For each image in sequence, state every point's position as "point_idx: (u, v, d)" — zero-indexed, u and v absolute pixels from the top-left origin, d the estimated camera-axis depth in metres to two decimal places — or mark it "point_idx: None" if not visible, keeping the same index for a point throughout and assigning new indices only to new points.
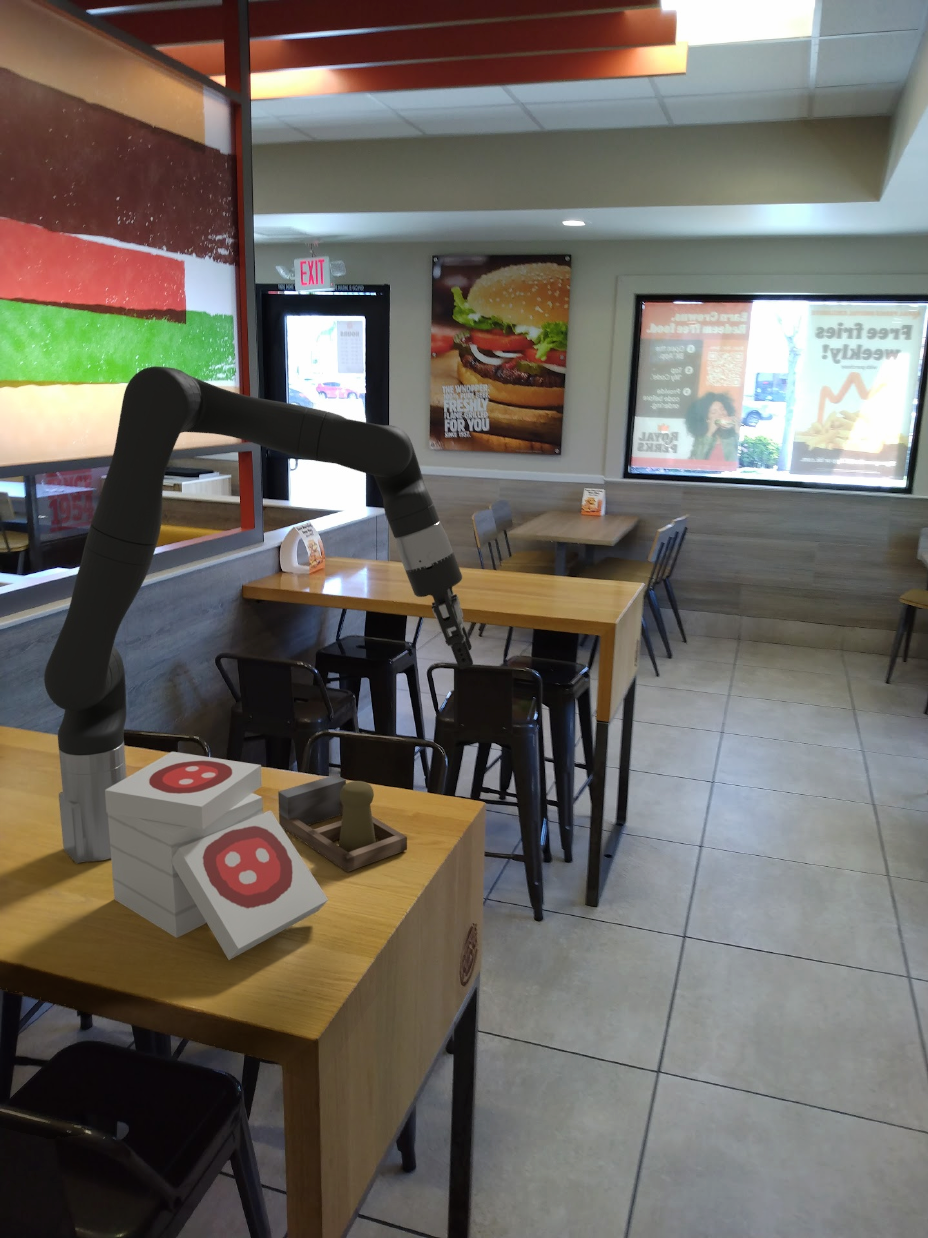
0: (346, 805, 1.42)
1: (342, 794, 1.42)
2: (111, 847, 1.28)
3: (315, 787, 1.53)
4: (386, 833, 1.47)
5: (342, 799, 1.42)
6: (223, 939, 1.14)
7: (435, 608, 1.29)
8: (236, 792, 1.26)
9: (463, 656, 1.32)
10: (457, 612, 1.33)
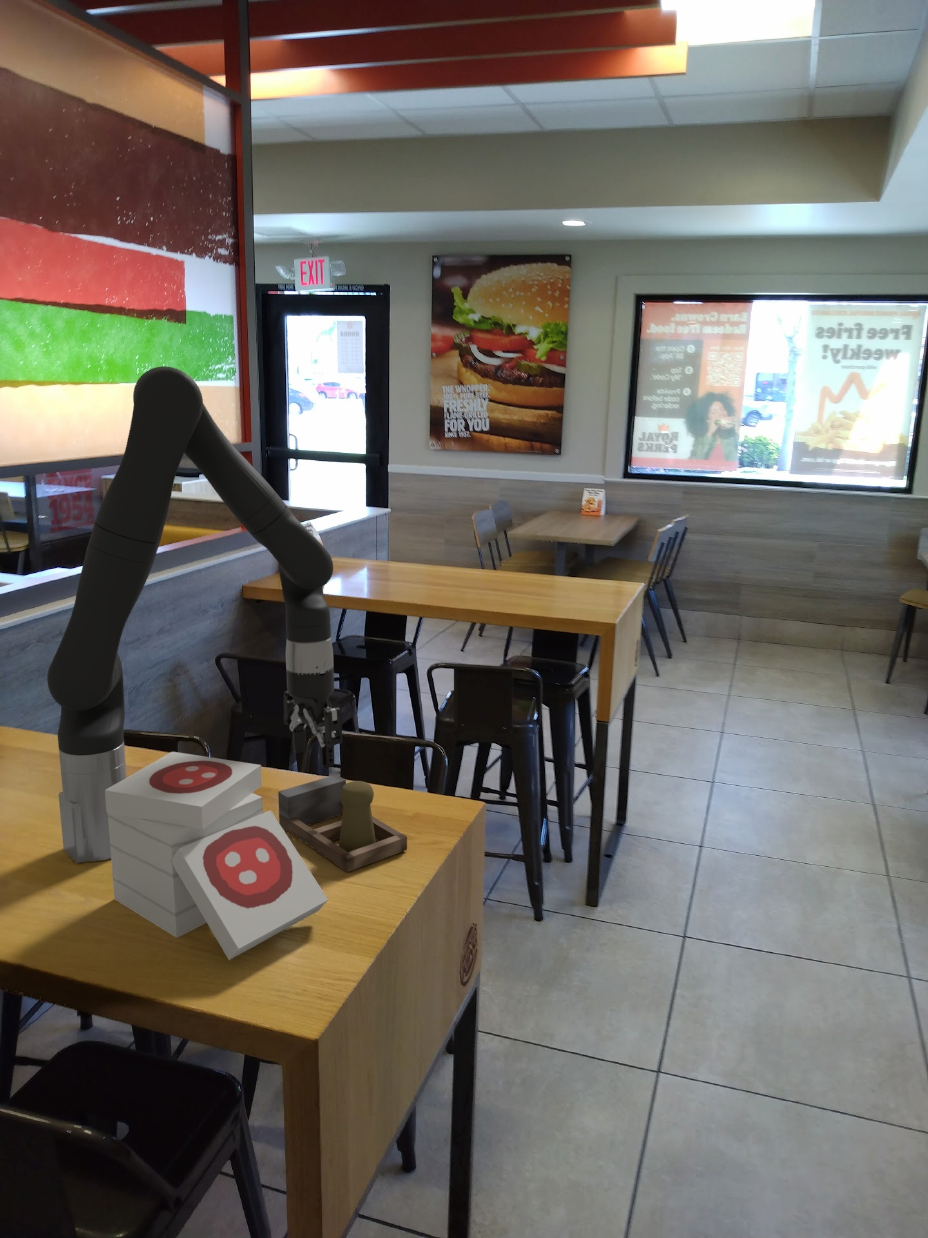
0: (346, 805, 1.42)
1: (342, 794, 1.42)
2: (111, 847, 1.28)
3: (315, 787, 1.53)
4: (386, 833, 1.47)
5: (342, 799, 1.42)
6: (223, 939, 1.14)
7: (328, 712, 1.44)
8: (236, 792, 1.26)
9: (331, 757, 1.48)
10: None
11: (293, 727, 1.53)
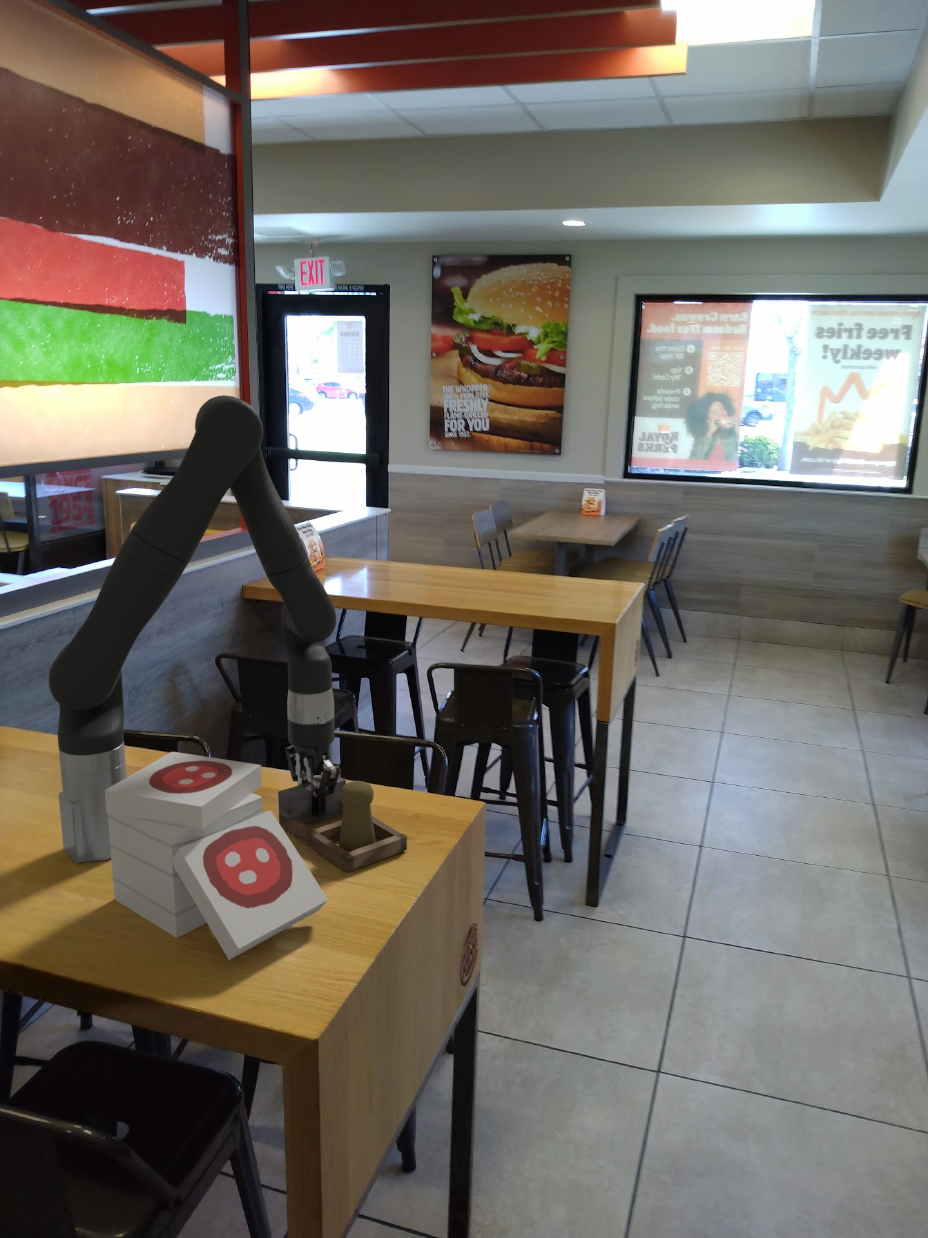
0: (346, 805, 1.42)
1: (342, 794, 1.42)
2: (111, 847, 1.28)
3: None
4: (385, 833, 1.47)
5: (342, 799, 1.42)
6: (223, 939, 1.14)
7: (328, 772, 1.47)
8: (236, 792, 1.26)
9: (323, 807, 1.52)
10: None
11: None
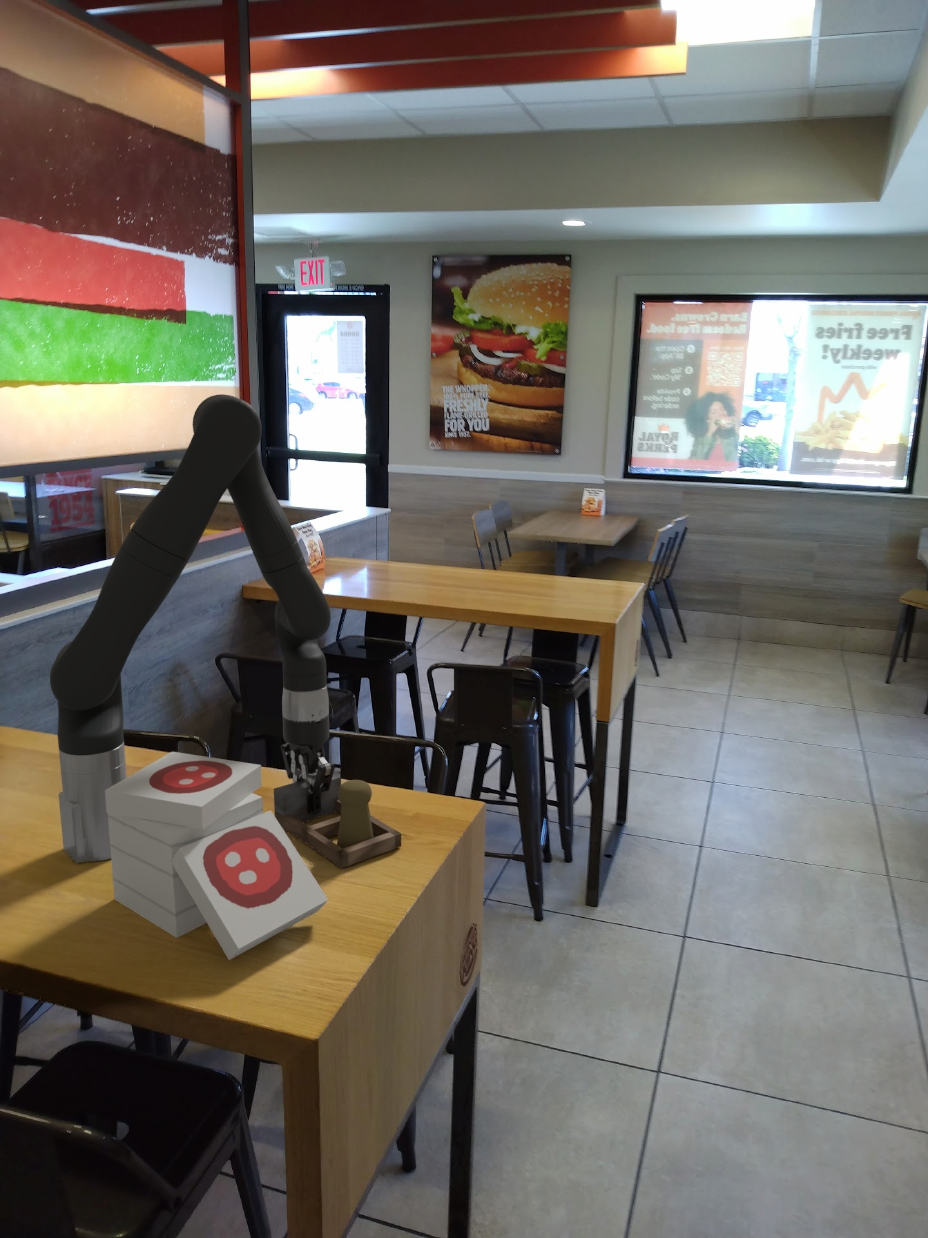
0: (344, 804, 1.42)
1: (340, 793, 1.42)
2: (111, 847, 1.28)
3: None
4: (380, 830, 1.48)
5: (340, 798, 1.42)
6: (223, 939, 1.14)
7: (323, 769, 1.48)
8: (236, 792, 1.26)
9: (318, 804, 1.53)
10: None
11: None
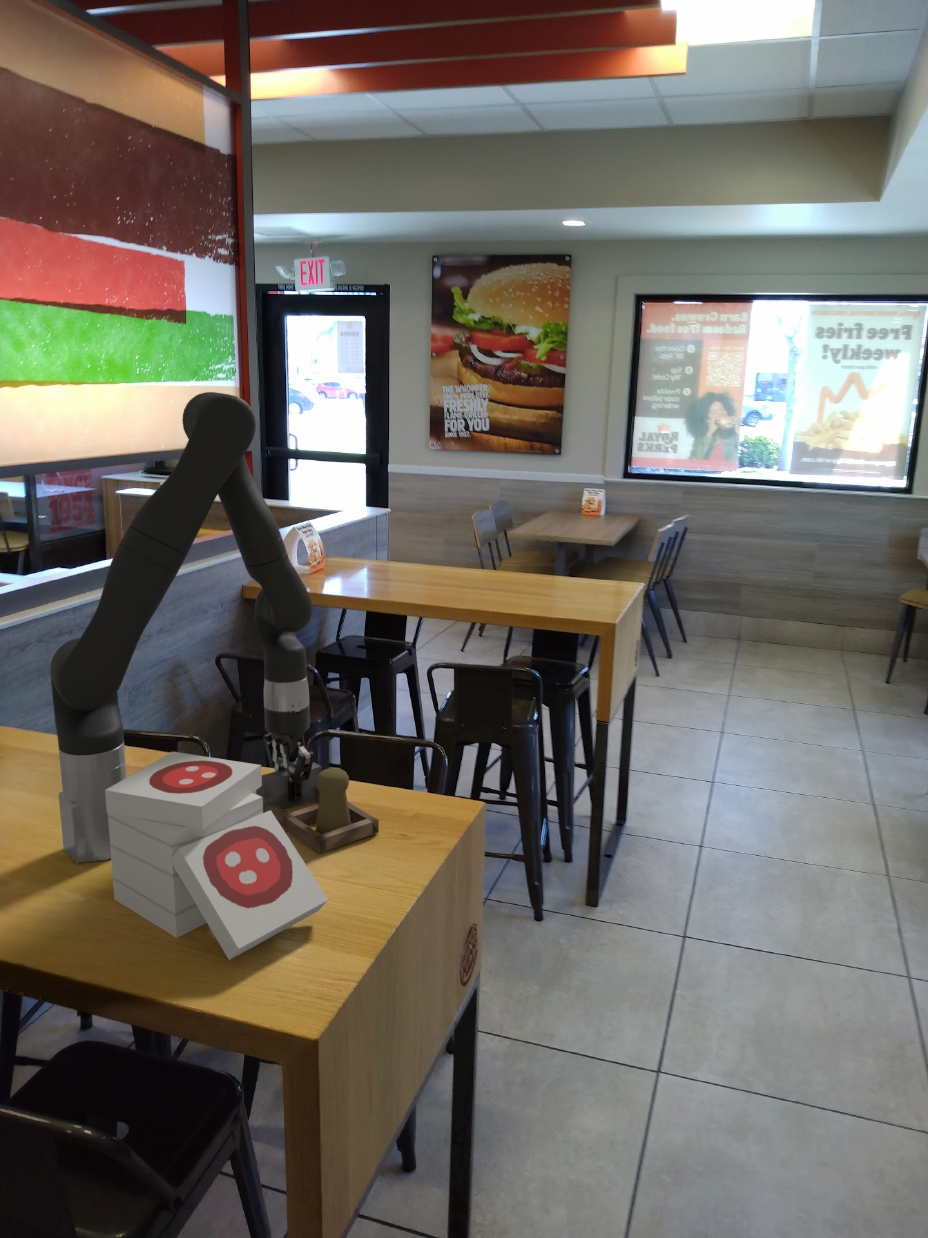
0: (322, 791, 1.46)
1: (318, 781, 1.46)
2: (111, 847, 1.28)
3: None
4: (358, 816, 1.52)
5: (318, 785, 1.46)
6: (223, 939, 1.14)
7: (302, 758, 1.52)
8: (236, 792, 1.26)
9: (298, 792, 1.58)
10: None
11: None
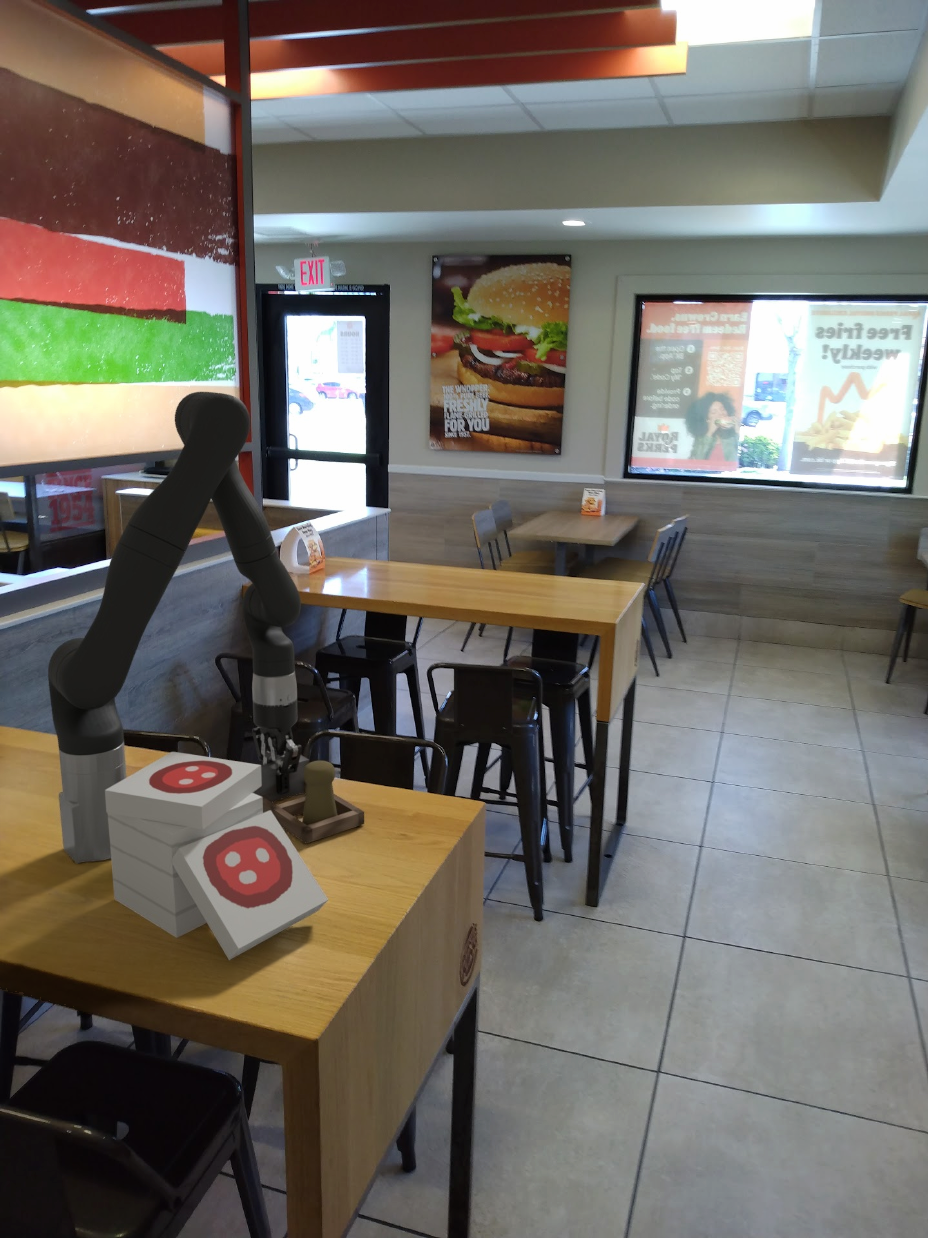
0: (309, 783, 1.49)
1: (305, 773, 1.49)
2: (111, 847, 1.28)
3: None
4: (344, 808, 1.55)
5: (305, 777, 1.49)
6: (223, 939, 1.14)
7: (290, 751, 1.55)
8: (236, 792, 1.26)
9: (286, 784, 1.61)
10: None
11: None
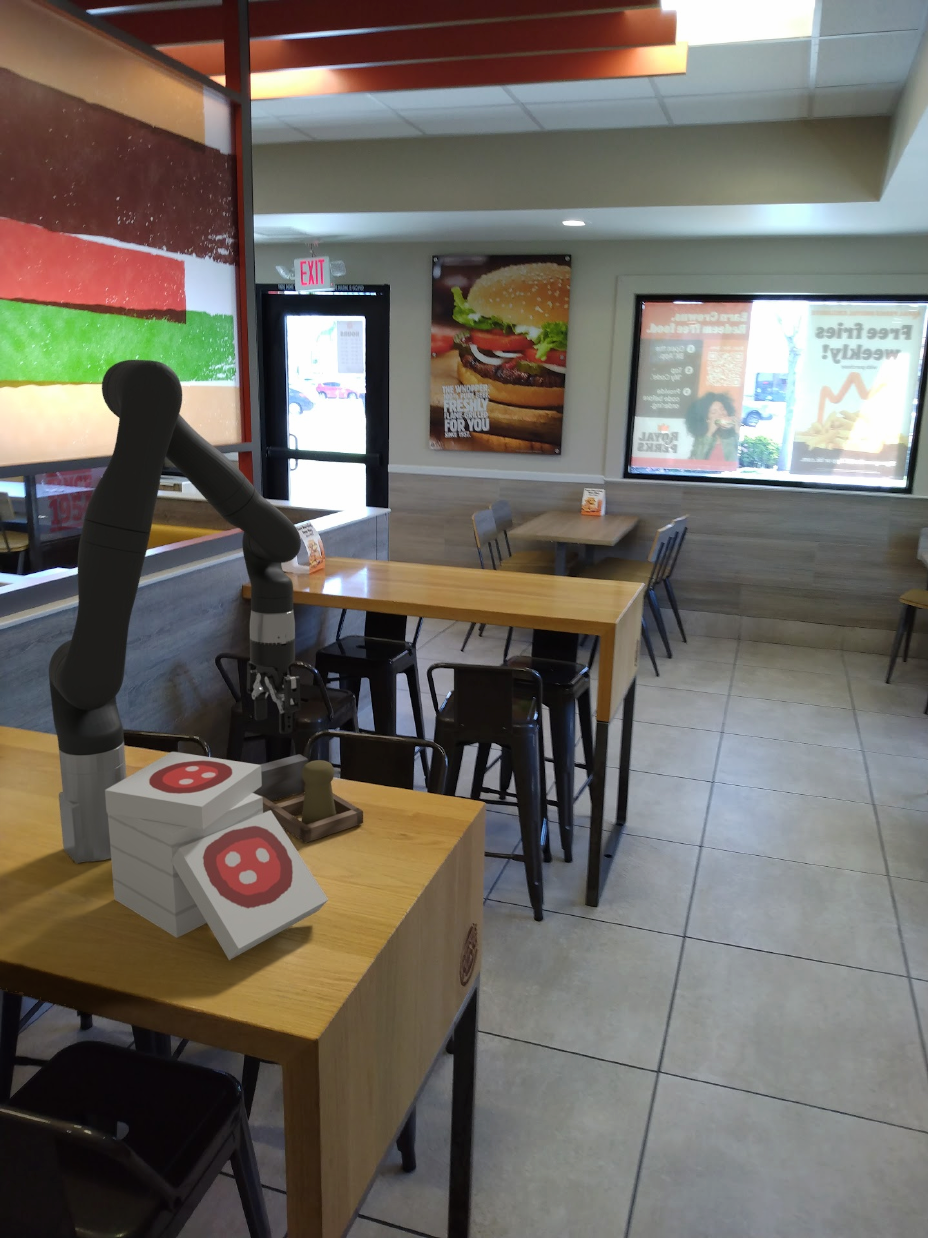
0: (308, 783, 1.49)
1: (304, 772, 1.50)
2: (111, 847, 1.28)
3: (278, 765, 1.62)
4: (343, 807, 1.55)
5: (304, 777, 1.50)
6: (223, 939, 1.14)
7: (287, 679, 1.53)
8: (236, 792, 1.26)
9: (289, 723, 1.56)
10: None
11: (255, 695, 1.62)
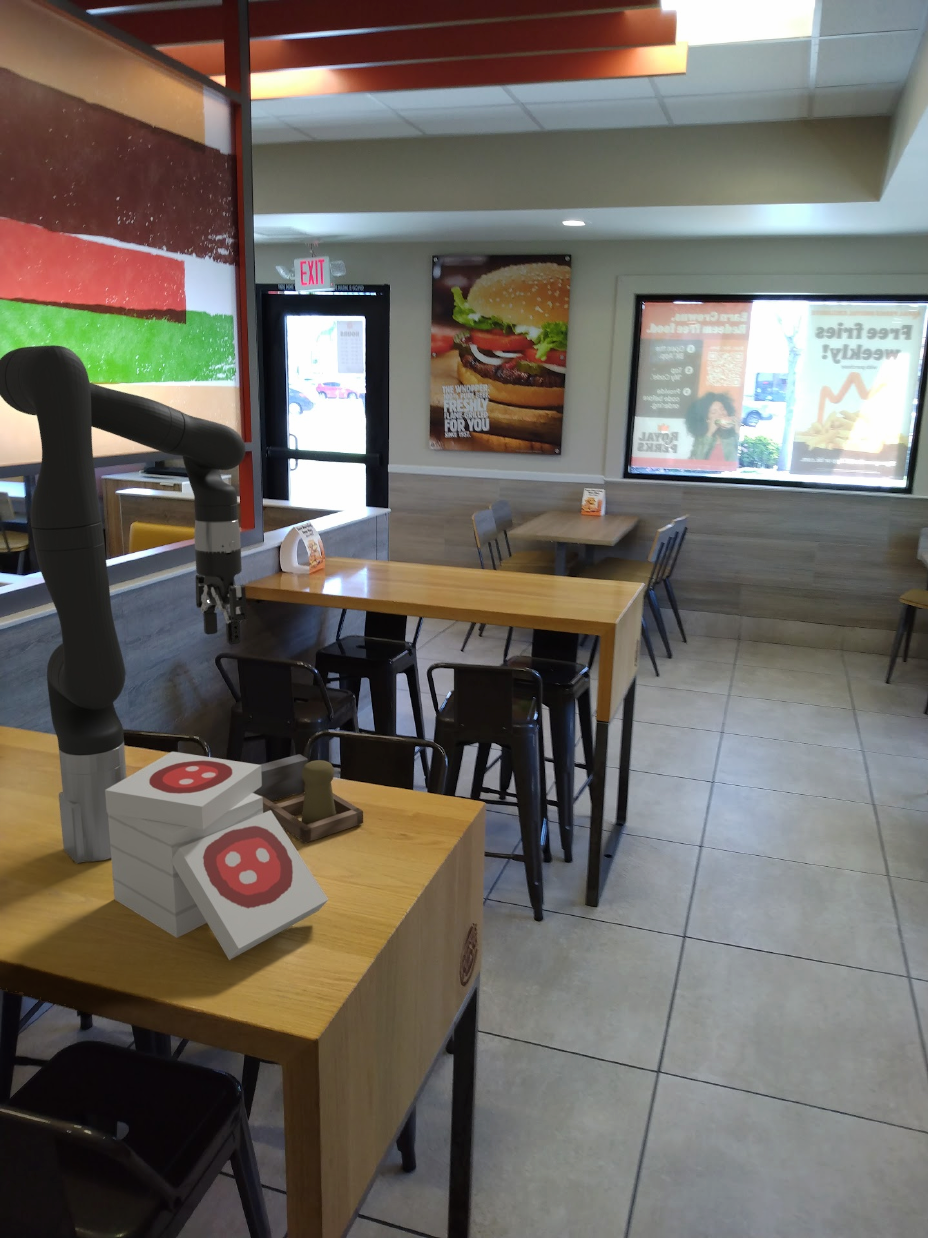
0: (308, 783, 1.49)
1: (304, 772, 1.50)
2: (111, 847, 1.28)
3: (278, 765, 1.62)
4: (343, 807, 1.55)
5: (304, 777, 1.50)
6: (223, 939, 1.14)
7: (232, 587, 1.52)
8: (236, 791, 1.26)
9: (237, 633, 1.56)
10: None
11: (204, 609, 1.61)
